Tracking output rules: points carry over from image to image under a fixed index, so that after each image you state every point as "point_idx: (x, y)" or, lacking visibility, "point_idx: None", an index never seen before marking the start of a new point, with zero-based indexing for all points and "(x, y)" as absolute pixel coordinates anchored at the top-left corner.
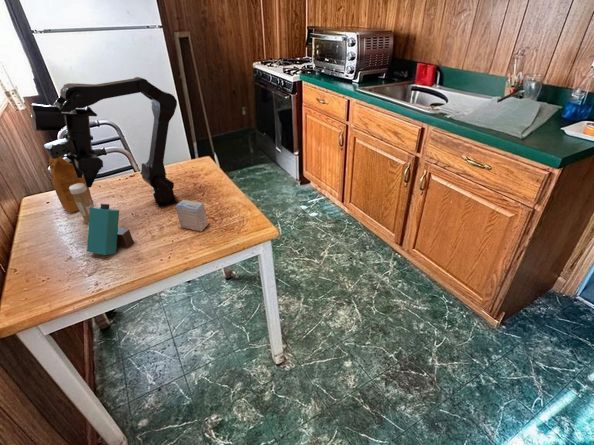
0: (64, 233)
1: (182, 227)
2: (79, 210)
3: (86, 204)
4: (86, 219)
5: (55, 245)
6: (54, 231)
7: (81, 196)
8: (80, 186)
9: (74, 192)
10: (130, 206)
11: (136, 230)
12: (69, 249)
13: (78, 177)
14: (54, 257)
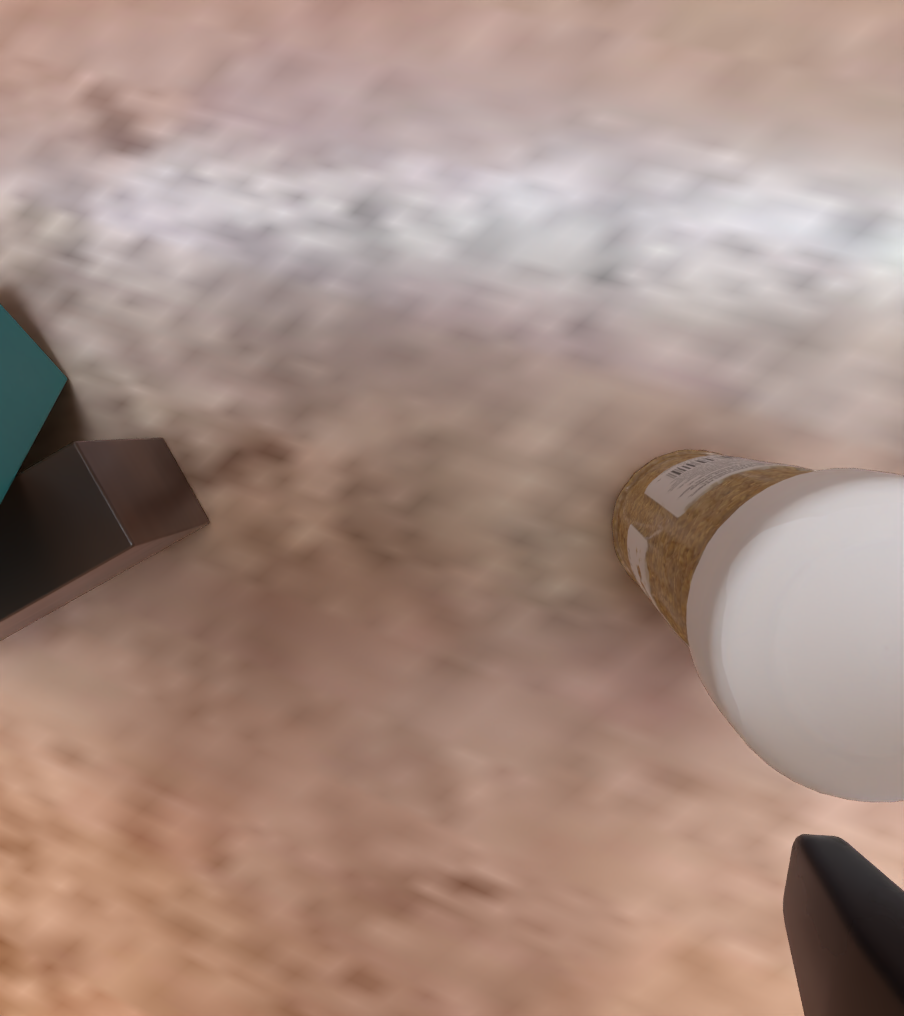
0: (644, 209)
1: None
2: (734, 457)
3: (655, 572)
4: (653, 474)
5: (464, 73)
6: (783, 132)
7: (685, 583)
8: (779, 699)
9: (735, 521)
10: (661, 946)
11: (132, 771)
12: (278, 168)
13: (798, 850)
14: (243, 15)
